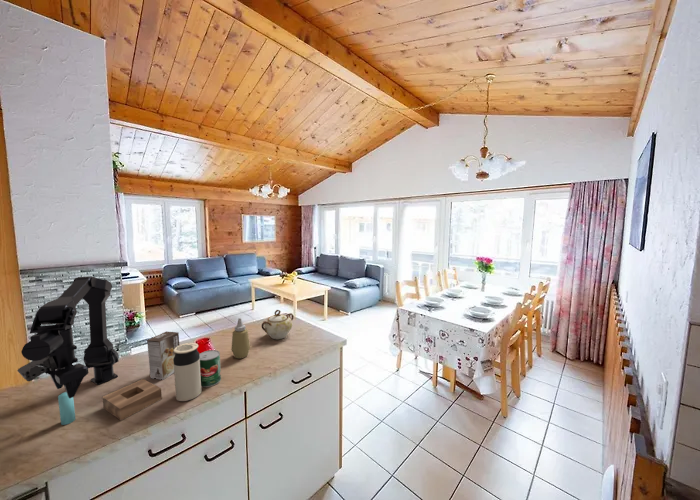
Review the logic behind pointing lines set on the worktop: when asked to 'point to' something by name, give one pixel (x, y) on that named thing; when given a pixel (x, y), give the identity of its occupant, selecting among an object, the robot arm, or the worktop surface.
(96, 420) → the worktop surface
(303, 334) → the worktop surface
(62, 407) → the peg
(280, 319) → the sugar bowl
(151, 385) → the socket block
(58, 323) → the robot arm
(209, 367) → the canned tomato
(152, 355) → the coffee box
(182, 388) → the travel mug
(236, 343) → the squeeze bottle
